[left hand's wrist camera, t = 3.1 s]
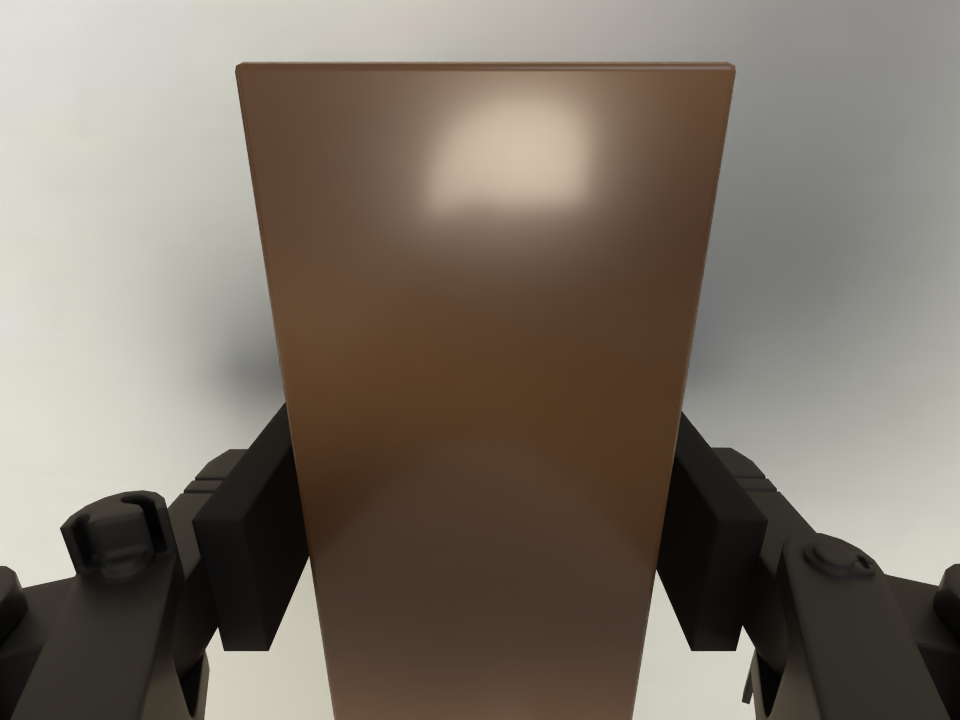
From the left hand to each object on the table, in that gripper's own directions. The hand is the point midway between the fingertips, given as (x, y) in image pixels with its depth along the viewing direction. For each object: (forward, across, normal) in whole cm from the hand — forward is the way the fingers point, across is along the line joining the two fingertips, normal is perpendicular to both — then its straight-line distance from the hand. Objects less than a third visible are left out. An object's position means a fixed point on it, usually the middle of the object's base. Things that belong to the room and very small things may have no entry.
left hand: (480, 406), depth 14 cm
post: (+1, 0, -32) cm, 32 cm away
